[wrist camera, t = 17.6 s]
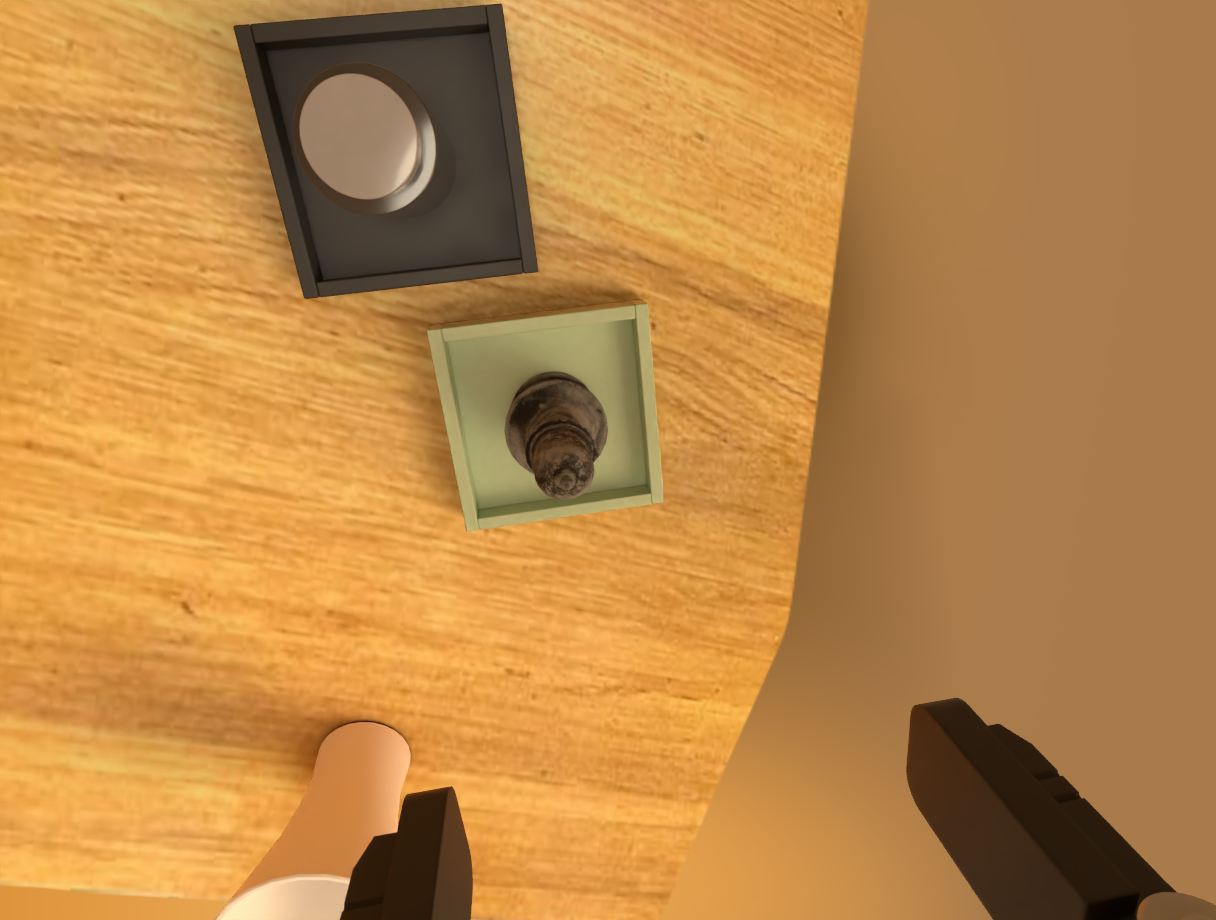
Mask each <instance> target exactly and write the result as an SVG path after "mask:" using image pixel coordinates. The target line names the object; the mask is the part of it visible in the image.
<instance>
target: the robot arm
mask: <svg viewBox="0 0 1216 920" xmlns="http://www.w3.org/2000/svg"><path fill="white" fill-rule="evenodd" d="M907 780H908V784H909V788H910V791H911V794H912V796H913V799H914V801H915V803H916V805H917V807H918V808H919V810H920V812H921V813H922V815H923V816H924V818H925V819H926V821H927V822H928V824H929V825H930V827H931V828H932V829H933V831H934V832H935V834H936V835H937V837H938V838H939V840H940V841H941V843H942V844H943V846H944V847H945V849H946V850H947V852H948V853H949V855H950V856H951V858H952V859H953V861H954V862H955V864H956V865H957V867H958V868H959V870H960V871H961V873H962V874H963V875H964V877H965V878H966V880H967V881H968V883H969V884H970V886H971V887H972V889H973V890H974V892H975V893H976V895H977V896H978V898H979V899H980V901H981V902H982V904H983V905H984V907H985V908H986V910H987V911H988V913H989V914H990V916H991V917H992V919H993V920H1216V905H1214V904H1212V903H1210V902H1207V901H1205V900H1202V899H1199V898H1197V897H1194V896H1190V895H1186V894H1182V893H1177V892H1176V891H1175V890H1174V889H1173V888H1172V887H1171V886H1170V885H1169V884H1167V883H1166V882H1165V881H1164V880H1163V879H1162V878H1161V876H1159V874H1158V873H1157V872H1156V871H1155V870H1154V869H1153V868H1152V867H1151V866H1150V865H1149V864H1148V863H1147V862H1146V861H1145V860H1144V859H1143V858H1142V857H1141V856H1140V855H1139V854H1138V853H1137V852H1136V851H1135V850H1134V849H1133V848H1132V847H1131V846H1130V845H1129V844H1128V843H1127V842H1126V841H1125V839H1124V838H1123V837H1122V836H1121V835H1120V834H1119V833H1118V832H1117V831H1116V830H1115V829H1114V828H1113V827H1112V826H1111V825H1110V824H1109V823H1108V822H1107V821H1106V820H1105V819H1104V818H1103V817H1102V816H1101V815H1100V814H1099V813H1098V812H1097V811H1096V810H1095V809H1094V808H1093V807H1092V806H1091V805H1090V803H1089V802H1088V801H1087V800H1086V799H1085V798H1083V799H1082V798H1081V797H1080V796H1079V792H1078V791H1077V790H1076V789H1075V788H1074V787H1073V786H1072V785H1071V784H1070V783H1069V782H1068V781H1067V780H1066V779H1065V778H1064V777H1063V776H1059V774H1058V771H1057V770H1056V768H1055V767H1054V766H1053V765H1052V764H1051V763H1050V762H1049V761H1048V760H1047V759H1046V758H1045V757H1044V756H1043V755H1042V754H1041V753H1040V752H1039V751H1038V750H1037V749H1036V748H1035V747H1034V746H1033V745H1032V744H1031V743H1029V742H1028V741H1026V740H1024V739H1023V738H1021V737H1019V736H1018V735H1016V734H1014V733H1013V732H1011V731H1010V730H1008V729H1006V728H1005V727H1003V726H1002V725H1000V724H995V725H990V726H987V725H986V724H985V723H984V722H983V721H982V720H981V718H980V717H979V716H978V715H977V714H976V713H975V712H974V711H973V710H972V709H971V708H970V706H969V705H968V704H967V703H966V702H964V701H963V700H961V699H959V698H953V699H947V700H941V701H935V702H930V703H924V704H919V705H915V706H914V707H913V708H912V711H911V717H910V730H909V744H908V755H907ZM472 890H473V878H472V863H471V855H470V850H469V845H468V841H467V837H466V833H465V829H464V825H463V821H462V817H461V813H460V810H459V806H458V802H457V798H456V794H455V791H454V789H453V787H452V786H451V787H445V788H440V789H434V790H429V791H423V792H418V793H412V794H407V795H406V797H405V799H404V801H403V805H402V810H401V815H400V820H399V825H398V830H397V832H395V833H390V834H384V835H379V836H374V837H373V839H372V840H371V842H370V843H369V845H368V847H367V848H366V850H365V851H364V853H363V854H362V856H361V857H360V859H359V860H358V862H357V864H356V865H355V867H354V868H353V871H352V875H351V879H350V883H349V886H348V890H347V894H346V898H345V902H344V911H342V913H341V917H340V920H470V919H471V906H472Z"/></svg>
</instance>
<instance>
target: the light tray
mask: <svg viewBox="0 0 1216 920" xmlns="http://www.w3.org/2000/svg"><path fill="white" fill-rule="evenodd" d="M427 336H428V341H429V346H430V351H431V356H432V361H433V366H434V371H435V376H436V381H437V386H438V391H439V396H440V401H441V406H442V411H443V416H444V421H445V426H446V431H447V436H448V441H449V446H450V451H451V456H452V461H453V466H454V471H455V476H456V481H457V486H458V491H459V496H460V501H461V506H462V511H463V516H464V521H465V526H466V531H467V532H469V531H476V530H479V529H480V530H482V529H489V528H496V527H502V526H509V525H516V524H522V523H529V522H536V521H542V520H549V519H556V518H563V517H569V516H576V515H583V514H589V513H596V512H603V511H609V510H616V509H623V508H630V507H636V506H643V505H650V504H651V503H652V504H656V503H663V502H664V496H663V483H662V471H661V458H660V446H659V433H658V420H657V408H656V395H655V382H654V370H653V357H652V345H651V332H650V319H649V307H648V303H646V302H645V301H643V300H642V299H640V300H632V301H623V302H615V303H607V304H599V305H591V306H582V307H574V308H566V309H558V310H550V311H541V312H533V313H525V314H517V315H508V316H500V317H492V318H484V319H476V320H467V321H459V322H451V323H443V324H435V325H431V326H430V327H429V329H428V330H427ZM546 372H561V373H566V374H569V375H571V376H573V377H576V378H577V379H578V380H580V381H581V382H582V383H584V384H585V386H586V387H587V388H588V390H589V391H590V392H591V393H593V394H594V395H595V397H596V398H597V399H598V401H599V402H600V403H601V405H602V407H603V409H604V412H605V414H606V417H607V425H608V434H607V440H606V444H605V446H604V448H603V450H602V452H601V455H600V456H599V457H598V458H597V459H596V461H595V462H594V463H593V464H594V477H593V481H592V483H591V485H590V487H589V488H588V489H587V490H586V492H584V493H583V494H582V495H580V496H579V497H576V498H573V499H569V500H558V499H555V498H552V497H549V496H548V495H546V494H545V493H544V492H543V491H542V490H541V489H540V488H539V486H538V485H537V483H536V480H535V476H534V474H533V473H530V472H529V471H528V470H526V469H525V468H523V467H522V466H520V465H519V463H518V462H517V461H516V460H515V459H514V457H513V456H512V455H511V453H510V450H509V448H508V446H507V444H506V438H505V432H504V430H505V421H506V416H507V414H508V411H509V409H510V406H511V405H512V401H513V399H514V396H515V394H516V392H517V391H518V390H519V388H520V387H521V386H522V384H523V383H525V382H526V381H527V380H529V379H530V378H531V377H534V376H536V375H539V374H541V373H546Z"/></svg>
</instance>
